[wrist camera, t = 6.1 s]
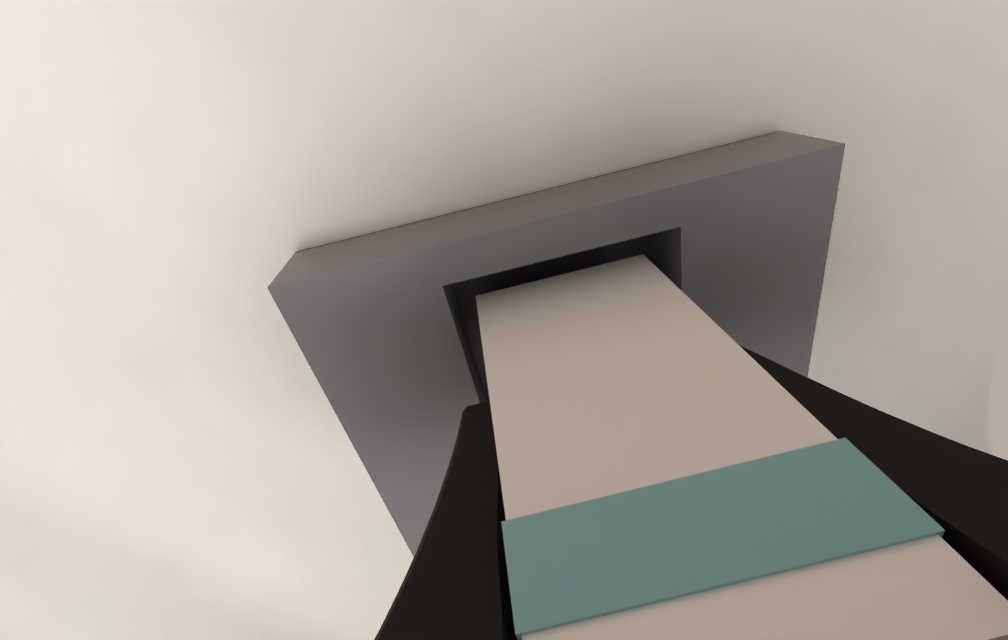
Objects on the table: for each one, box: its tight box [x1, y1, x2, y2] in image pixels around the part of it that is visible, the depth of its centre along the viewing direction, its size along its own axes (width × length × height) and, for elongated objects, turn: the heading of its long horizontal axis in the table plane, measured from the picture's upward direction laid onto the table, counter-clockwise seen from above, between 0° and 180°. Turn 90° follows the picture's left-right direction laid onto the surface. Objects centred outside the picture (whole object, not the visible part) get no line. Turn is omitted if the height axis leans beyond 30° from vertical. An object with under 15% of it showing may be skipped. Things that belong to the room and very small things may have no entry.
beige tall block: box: [476, 254, 1008, 640], centre depth 7 cm, size 4×4×9 cm
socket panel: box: [268, 131, 845, 556], centre depth 14 cm, size 12×15×2 cm
